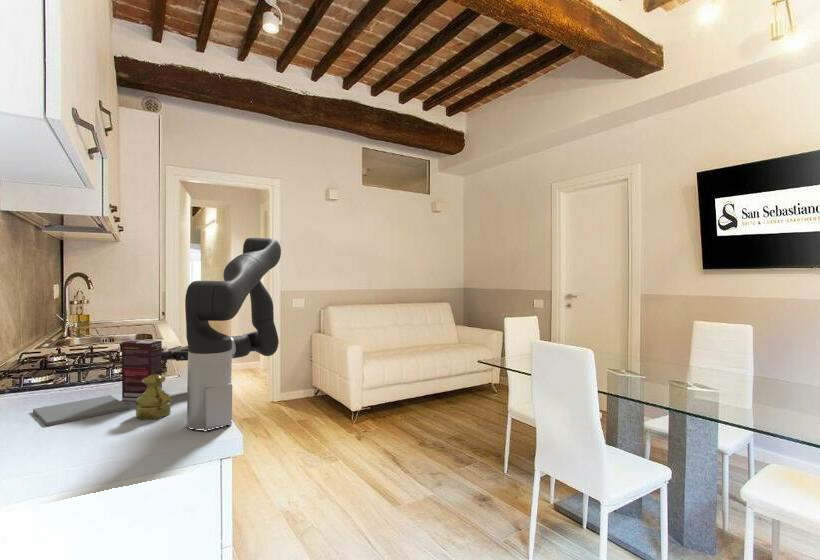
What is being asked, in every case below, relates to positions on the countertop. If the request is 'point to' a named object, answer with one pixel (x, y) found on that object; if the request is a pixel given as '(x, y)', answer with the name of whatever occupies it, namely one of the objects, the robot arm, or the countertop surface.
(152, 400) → the brass knobbed piece
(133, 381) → the supplement box
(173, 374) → the countertop surface
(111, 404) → the rubber mat
